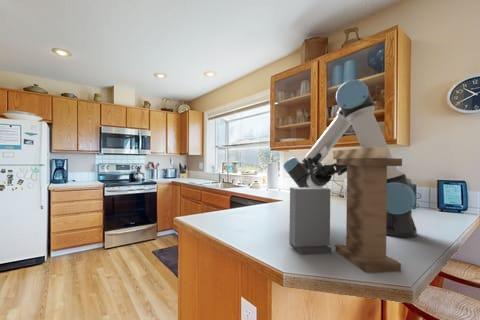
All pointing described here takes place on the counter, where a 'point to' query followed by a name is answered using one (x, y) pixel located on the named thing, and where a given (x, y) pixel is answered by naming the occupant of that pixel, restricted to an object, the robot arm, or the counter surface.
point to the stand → (367, 214)
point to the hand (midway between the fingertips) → (345, 150)
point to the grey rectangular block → (310, 220)
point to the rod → (362, 153)
